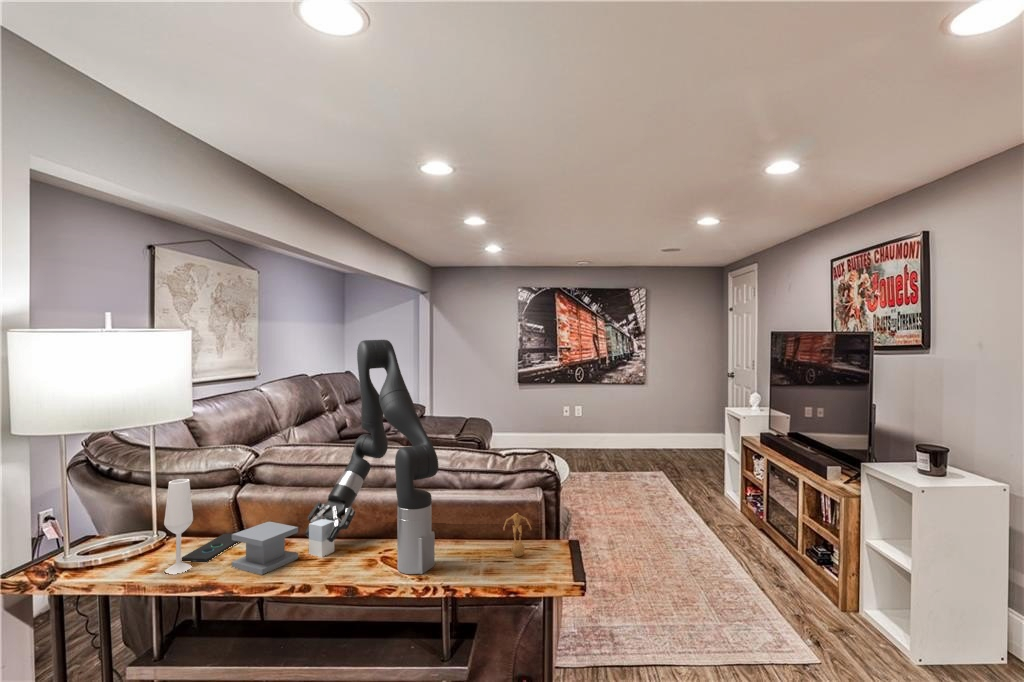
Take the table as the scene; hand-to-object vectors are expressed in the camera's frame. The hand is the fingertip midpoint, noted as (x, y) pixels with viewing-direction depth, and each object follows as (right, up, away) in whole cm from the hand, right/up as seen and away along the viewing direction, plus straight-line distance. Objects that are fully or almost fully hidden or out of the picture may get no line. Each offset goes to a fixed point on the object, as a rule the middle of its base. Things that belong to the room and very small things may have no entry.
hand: (318, 538), depth 152 cm
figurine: (+58, -5, -1) cm, 59 cm away
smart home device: (-32, -6, +4) cm, 33 cm away
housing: (+1, -5, +1) cm, 5 cm away
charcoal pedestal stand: (-13, -5, -6) cm, 15 cm away
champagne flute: (-34, -5, -10) cm, 36 cm away
